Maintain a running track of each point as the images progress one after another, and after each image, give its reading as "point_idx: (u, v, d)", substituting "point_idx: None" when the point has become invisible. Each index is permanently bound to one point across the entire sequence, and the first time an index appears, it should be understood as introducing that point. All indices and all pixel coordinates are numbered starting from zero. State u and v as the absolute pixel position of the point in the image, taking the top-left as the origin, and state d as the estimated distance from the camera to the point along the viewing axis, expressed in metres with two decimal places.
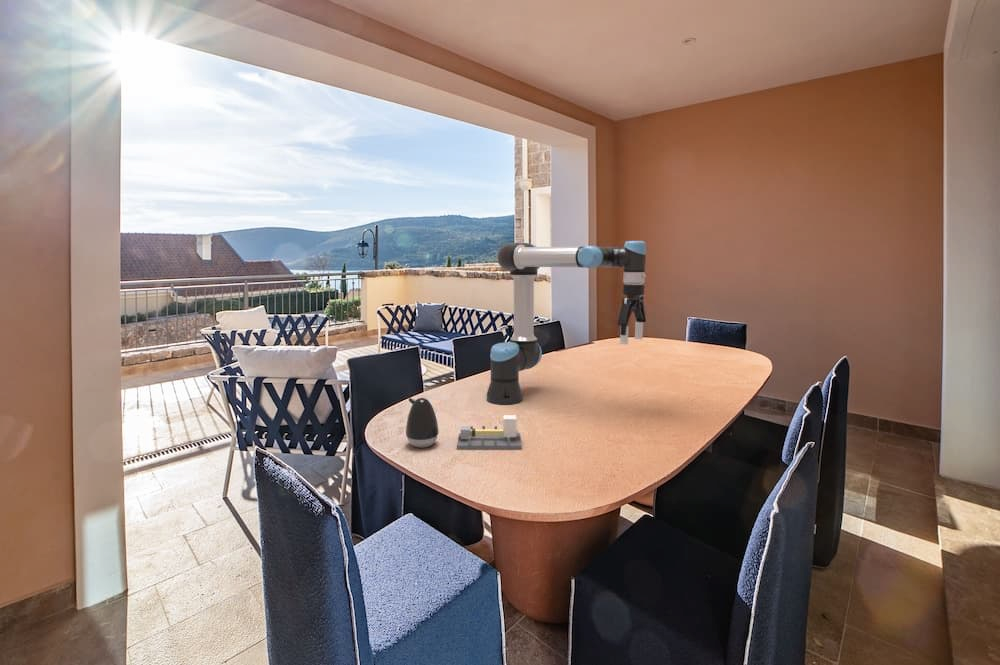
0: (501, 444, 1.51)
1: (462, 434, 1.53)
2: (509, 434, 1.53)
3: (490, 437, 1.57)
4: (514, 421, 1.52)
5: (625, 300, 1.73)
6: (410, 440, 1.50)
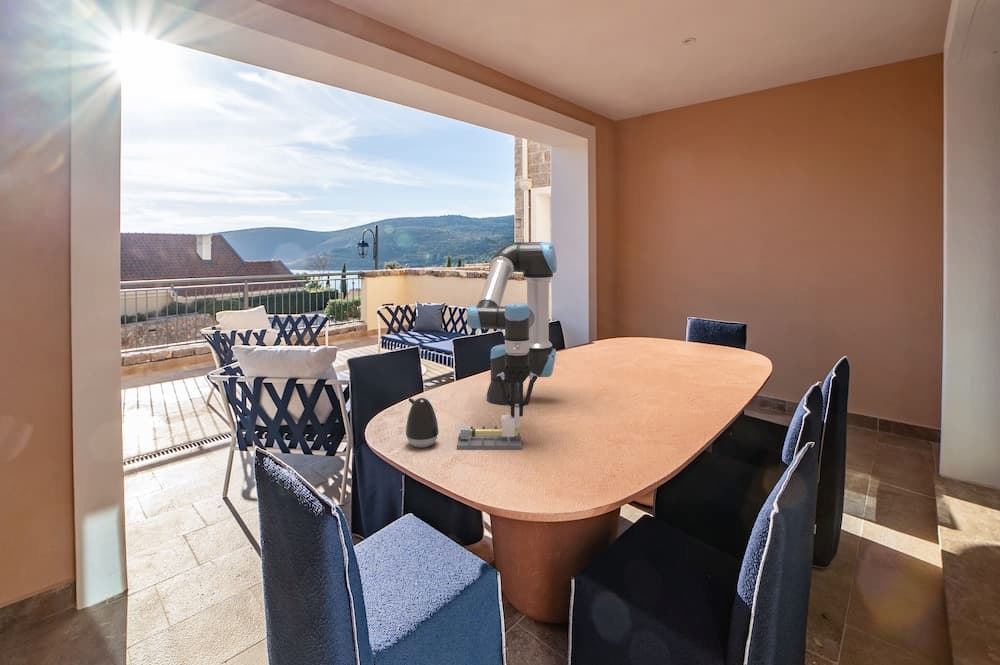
0: (501, 444, 1.51)
1: (462, 434, 1.53)
2: (507, 434, 1.53)
3: (490, 437, 1.57)
4: (512, 421, 1.52)
5: None
6: (410, 440, 1.50)
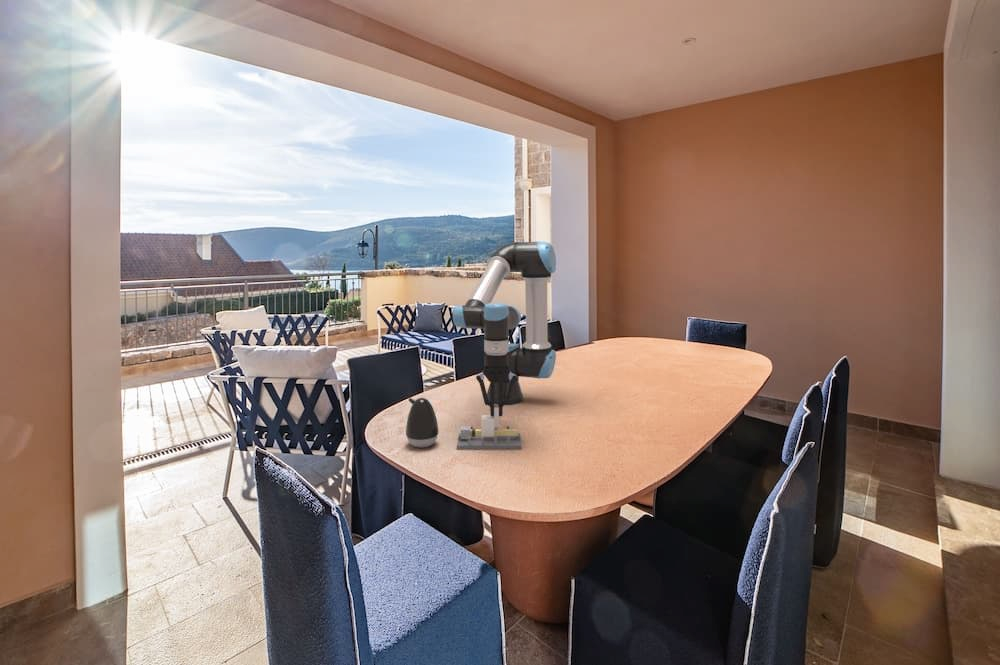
0: (501, 444, 1.51)
1: (462, 434, 1.53)
2: (487, 434, 1.53)
3: (490, 437, 1.57)
4: (492, 421, 1.52)
5: None
6: (410, 440, 1.50)
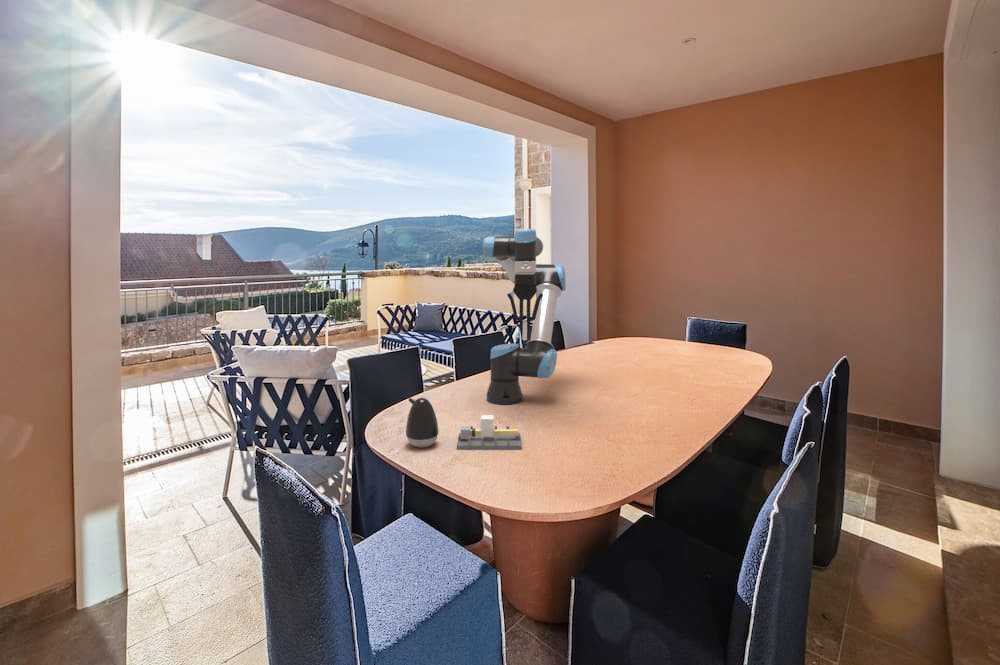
0: (501, 444, 1.51)
1: (462, 434, 1.53)
2: (486, 434, 1.53)
3: (490, 437, 1.57)
4: (491, 421, 1.52)
5: (508, 296, 1.73)
6: (410, 440, 1.50)
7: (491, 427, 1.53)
